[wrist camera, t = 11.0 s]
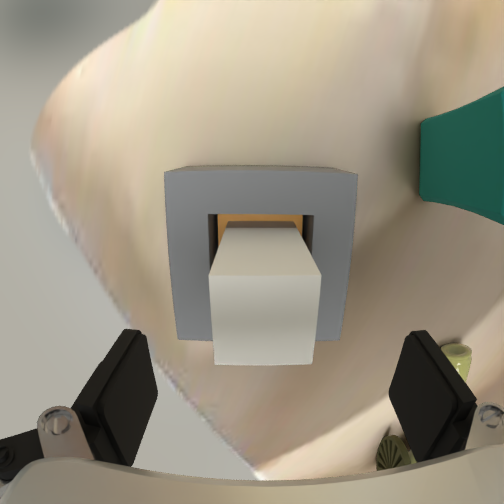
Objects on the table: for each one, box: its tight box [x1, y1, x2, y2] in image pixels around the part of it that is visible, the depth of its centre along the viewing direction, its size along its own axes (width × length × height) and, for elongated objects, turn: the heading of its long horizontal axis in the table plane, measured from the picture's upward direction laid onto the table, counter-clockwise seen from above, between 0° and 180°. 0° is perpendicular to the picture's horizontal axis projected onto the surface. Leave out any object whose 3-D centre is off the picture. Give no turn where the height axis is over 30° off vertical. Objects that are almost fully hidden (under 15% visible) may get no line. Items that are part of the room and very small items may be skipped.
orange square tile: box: [218, 214, 303, 248], centre depth 23 cm, size 6×6×1 cm
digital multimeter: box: [419, 87, 504, 225], centre depth 17 cm, size 7×15×3 cm
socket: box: [164, 165, 358, 341], centre depth 23 cm, size 12×12×6 cm
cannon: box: [377, 343, 472, 471], centre depth 29 cm, size 25×12×11 cm, turn 2°
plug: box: [209, 221, 321, 365], centre depth 18 cm, size 5×5×10 cm
